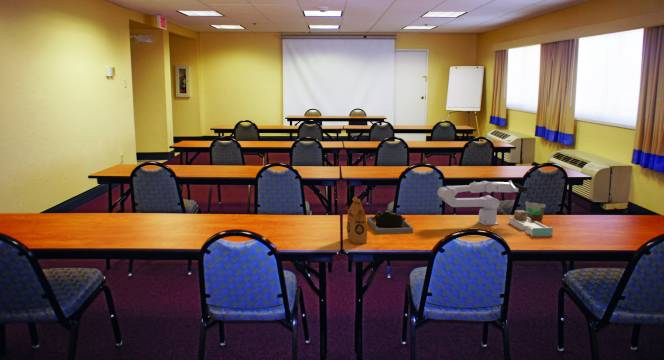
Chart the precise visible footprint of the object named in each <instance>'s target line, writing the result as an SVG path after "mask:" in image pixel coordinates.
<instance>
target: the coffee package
mask: <svg viewBox="0 0 664 360" xmlns="http://www.w3.org/2000/svg"><path fill="white" fill-rule="evenodd" d="M346 221H347V222H346V232H347V236H346V237H347V238H348V239H349V241H350V242H351V243H352V244H353V245H362V244H363V245H364V244H368V221H367V216H366V213H365V209H364V207H363V205H362V201H361V199H359V198H357V197H355V196H353V197H352V203H351V205H350V206H349V209H348V210H347V219H346Z"/></svg>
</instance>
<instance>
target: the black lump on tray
mask: <svg viewBox="0 0 664 360" xmlns="http://www.w3.org/2000/svg"><path fill="white" fill-rule="evenodd" d="M373 217H374V218H373V219H374V220H376V221H375V225H376V226H377V227H378V228H379V227H380V228H379V229H385V228H403V224H402V221H403V220H405V221H406V217H403V215H402V214H399V213H394V212H393V211H392V210H390V209H386V210H385V211H383V212H382V211H377V212H376V213H375V214H374V216H373Z"/></svg>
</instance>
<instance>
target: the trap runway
mask: <svg viewBox="0 0 664 360" xmlns="http://www.w3.org/2000/svg"><path fill="white" fill-rule="evenodd" d="M508 219H509V220H508V223H509V224H511V225H512V226H514V227H515V228H517V229H519V230H521V231H522V232H524V233H526V234H527V235H529V234H530V236H532V237H533V236H537V237H553V233H554V227H549V226H547V225H545V224H543V223H541V222H540V221H538V220H534V222H532V220H531V218H529V217H527V221H518V220H516V219H514V217H511V216H509V218H508Z"/></svg>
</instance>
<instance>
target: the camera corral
mask: <svg viewBox="0 0 664 360" xmlns="http://www.w3.org/2000/svg"><path fill="white" fill-rule="evenodd" d="M373 218H374V216H366V221H367V224H368V225H370V226H371V228H372V229H373V231H374V230H375V231H374V232H375V233H376V234H377V235H380V234H381V235H382V233H385V234H405V233H406V234H409V233H410V234H411V233H414V227H413V226H412V225H410V223H409V222H408V221H406V219H405V220H403V221H402V226H404V227H402V228H379V227H378V226H376V223H375V222H376V220H374V219H373Z"/></svg>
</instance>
